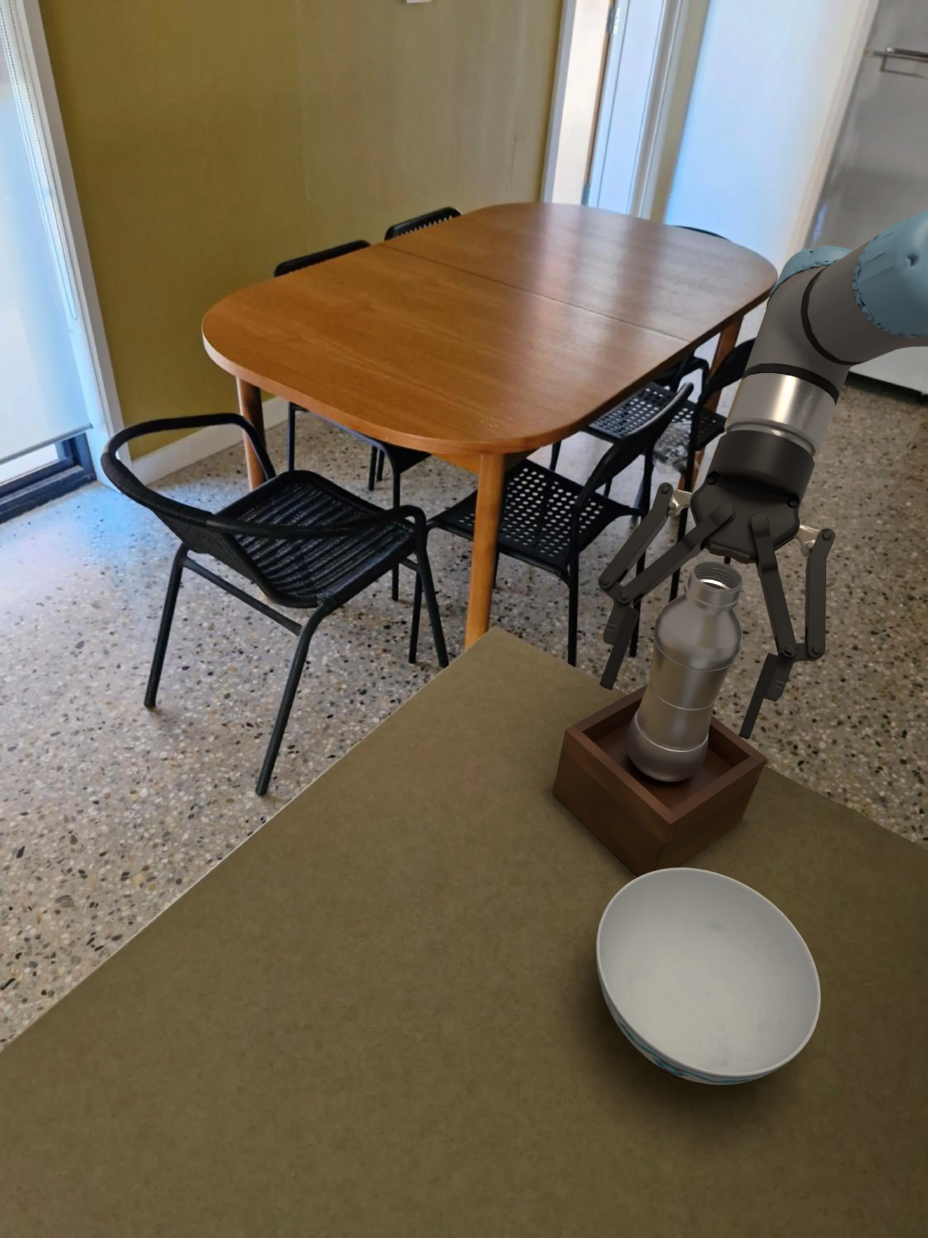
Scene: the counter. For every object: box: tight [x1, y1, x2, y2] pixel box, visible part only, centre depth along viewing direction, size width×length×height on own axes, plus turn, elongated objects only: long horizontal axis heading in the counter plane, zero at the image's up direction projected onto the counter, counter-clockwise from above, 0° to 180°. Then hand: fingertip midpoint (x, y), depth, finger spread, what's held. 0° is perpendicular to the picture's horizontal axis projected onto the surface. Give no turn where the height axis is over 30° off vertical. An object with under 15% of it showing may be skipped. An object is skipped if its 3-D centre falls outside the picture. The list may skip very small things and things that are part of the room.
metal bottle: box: [627, 560, 744, 782], centre depth 70 cm, size 6×7×20 cm
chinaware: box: [595, 867, 822, 1086], centre depth 63 cm, size 15×15×8 cm
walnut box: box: [552, 683, 768, 878], centre depth 77 cm, size 12×12×8 cm
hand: (673, 712), depth 68 cm, fingers open, 10 cm apart
